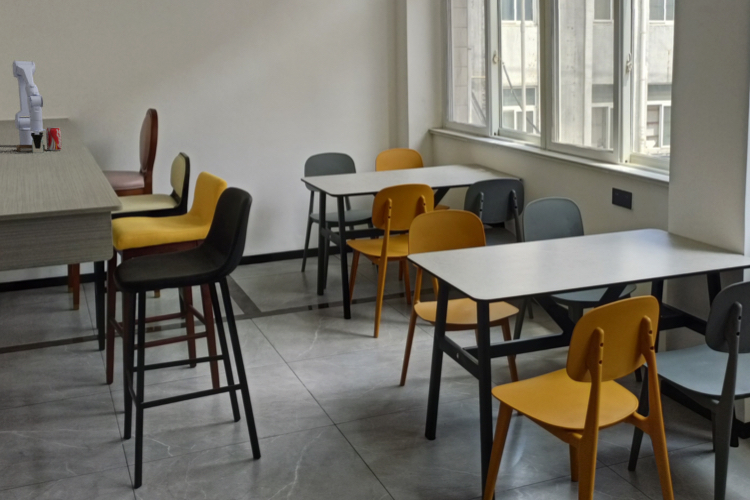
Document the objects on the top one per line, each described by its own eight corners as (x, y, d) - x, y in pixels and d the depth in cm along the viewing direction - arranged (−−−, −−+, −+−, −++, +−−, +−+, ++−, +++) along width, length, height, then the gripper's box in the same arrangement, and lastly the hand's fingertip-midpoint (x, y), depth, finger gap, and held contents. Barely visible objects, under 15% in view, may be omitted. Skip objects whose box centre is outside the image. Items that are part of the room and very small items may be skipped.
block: (32, 151, 386) (31, 139, 384) (43, 151, 388) (42, 139, 386) (32, 152, 381) (31, 140, 380) (43, 152, 383) (42, 140, 382)
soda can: (56, 151, 390) (55, 127, 387) (44, 150, 391) (42, 126, 388) (64, 150, 396) (63, 126, 393) (52, 149, 398) (51, 125, 395)
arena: (17, 149, 390) (16, 144, 390) (44, 149, 395) (44, 144, 395) (16, 151, 383) (16, 146, 383) (44, 151, 388) (44, 146, 388)
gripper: (45, 121, 376) (46, 149, 379) (44, 119, 389) (46, 145, 392) (29, 121, 373) (31, 149, 376) (29, 119, 386) (31, 145, 389)
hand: (37, 147), depth 384 cm, fingers open, 7 cm apart
